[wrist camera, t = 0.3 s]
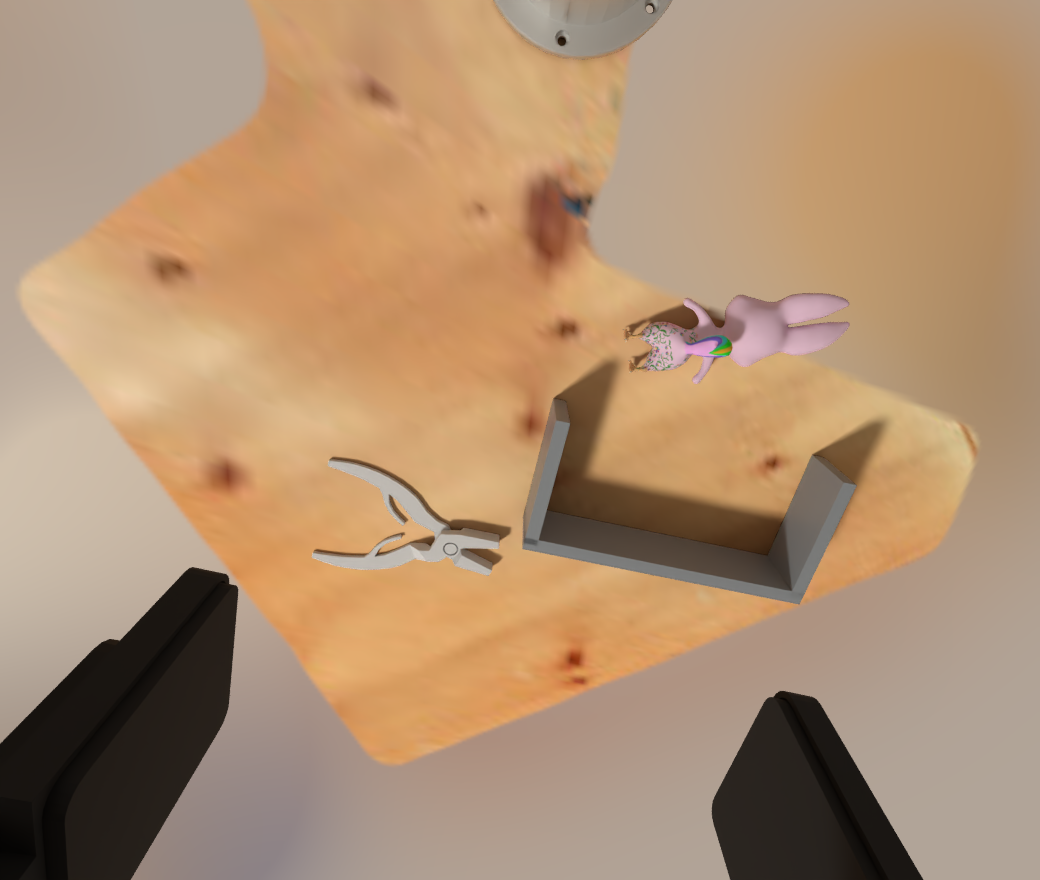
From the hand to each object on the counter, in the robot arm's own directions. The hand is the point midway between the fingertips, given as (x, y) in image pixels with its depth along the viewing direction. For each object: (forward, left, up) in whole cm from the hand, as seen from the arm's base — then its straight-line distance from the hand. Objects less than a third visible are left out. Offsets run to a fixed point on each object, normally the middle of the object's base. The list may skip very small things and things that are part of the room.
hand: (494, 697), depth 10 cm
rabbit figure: (-3, +15, -36) cm, 39 cm away
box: (+10, +15, -35) cm, 39 cm away
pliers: (+19, -5, -36) cm, 41 cm away
